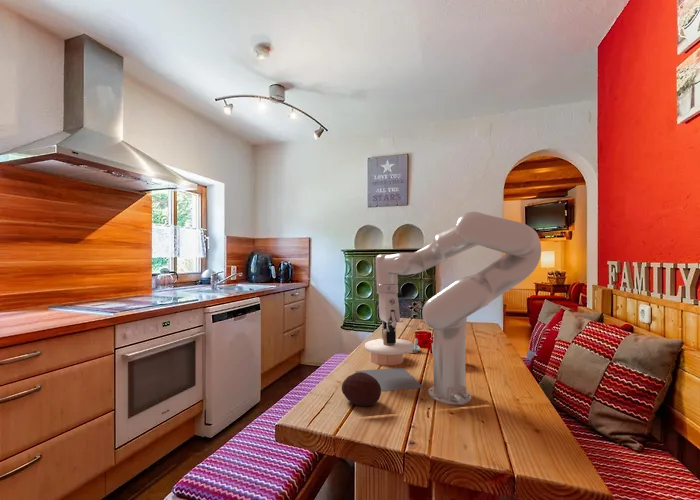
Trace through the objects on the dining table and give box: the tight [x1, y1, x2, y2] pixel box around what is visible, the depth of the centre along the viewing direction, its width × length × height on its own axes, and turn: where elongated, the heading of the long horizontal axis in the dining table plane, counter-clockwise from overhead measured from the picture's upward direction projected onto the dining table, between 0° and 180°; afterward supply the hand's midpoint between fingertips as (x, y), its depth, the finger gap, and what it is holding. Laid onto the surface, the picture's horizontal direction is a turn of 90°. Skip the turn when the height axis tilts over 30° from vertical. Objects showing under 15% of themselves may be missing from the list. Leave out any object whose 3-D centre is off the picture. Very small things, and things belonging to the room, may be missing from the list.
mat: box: [355, 367, 425, 392], centre depth 109 cm, size 19×19×1 cm
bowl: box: [368, 351, 405, 366], centre depth 130 cm, size 14×14×7 cm
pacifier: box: [408, 337, 421, 354], centre depth 143 cm, size 7×6×6 cm
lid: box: [364, 328, 414, 355], centre depth 109 cm, size 17×17×6 cm
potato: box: [341, 372, 382, 407], centre depth 91 cm, size 9×12×9 cm
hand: (389, 340), depth 109 cm, fingers closed on lid, 4 cm apart
